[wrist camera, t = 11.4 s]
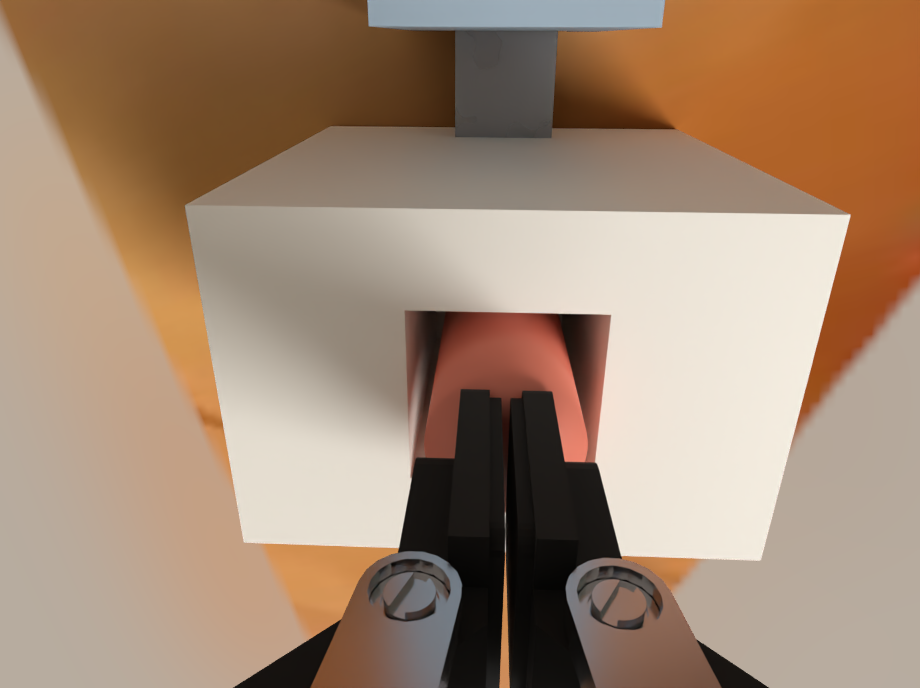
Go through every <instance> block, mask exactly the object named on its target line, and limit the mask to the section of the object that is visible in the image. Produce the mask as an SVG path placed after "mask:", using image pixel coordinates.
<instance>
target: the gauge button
mask: <svg viewBox="0 0 920 688" xmlns="http://www.w3.org/2000/svg"><path fill="white" fill-rule="evenodd" d="M461 389H481V390H490V397H493V398H501V400H502V434H503V468H504V502H505V512H506V492H507V468H508V444H509V420H510V399H511V398H521V397H522V391H552V393H553V398H554V403H555V409H556V415H557V420H558V426H559V432H560V437H561V443H562V448H563V454H564V460H565V462H585V460H586V455H587V450H588V439H587V431H586V427H585V423H584V419H583V415H582V411H581V406H580V402H579V398H578V394H577V390H576V386H575V381H574V377H573V373H572V369H571V365H570V360H569V356H568V352H567V348H566V344H565V340H564V335H563V331H562V327H561V323H560V319H559V315H558V314H555V313H507V312H458V311H446V313H445V319H444V325H443V330H442V336H441V342H440V348H439V354H438V360H437V366H436V372H435V377H434V383H433V389H432V395H431V401H430V407H429V413H428V418H427V424H426V430H425V436H424V450H425V456H426V458H455V448H456V437H457V425H458V414H459V403H460V392H461Z"/></svg>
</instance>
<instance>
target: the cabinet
mask: <svg viewBox="0 0 920 688" xmlns="http://www.w3.org/2000/svg"><path fill="white" fill-rule="evenodd" d="M185 210H186V216H187V221H188V227H189V233H190V238H191V244H192V250H193V255H194V261H195V267H196V273H197V278H198V284H199V290H200V295H201V301H202V307H203V312H204V318H205V324H206V329H207V335H208V341H209V347H210V352H211V358H212V364H213V369H214V375H215V381H216V386H217V392H218V398H219V403H220V409H221V415H222V421H223V426H224V432H225V438H226V443H227V449H228V455H229V460H230V466H231V472H232V477H233V483H234V489H235V495H236V500H237V506H238V511H239V517H240V523H241V529H242V534H243V540H244V543H270V544H299V545H327V546H356V547H385V548H399V545H400V539H401V534H402V528H403V523H404V518H405V512H406V507H407V501H408V496H409V490H410V485H411V479H412V474H413V469H414V463H415V459H416V458H417V457H424V458H426V456H425V450H424V436H425V430H426V424H427V418H428V413H429V407H430V401H431V395H432V389H433V383H434V377H435V372H436V366H437V360H438V354H439V348H440V342H441V336H442V330H443V325H444V319H445V313H446V311H458V312H507V313H555V314H558V315H559V319H560V323H561V327H562V331H563V335H564V340H565V344H566V348H567V352H568V356H569V360H570V365H571V369H572V373H573V377H574V381H575V386H576V390H577V394H578V398H579V402H580V406H581V411H582V415H583V419H584V423H585V427H586V431H587V439H588V450H587V455H586V460H585V462H595V463H597V465H598V468H599V471H600V475H601V479H602V483H603V487H604V491H605V495H606V499H607V503H608V507H609V510H610V514H611V518H612V522H613V526H614V530H615V534H616V538H617V542H618V546H619V550H620V554H621V556H644V557H673V558H702V559H731V560H759V561H760V560H761V557H762V554H763V549H764V546H765V542H766V538H767V534H768V530H769V527H770V523H771V519H772V515H773V511H774V508H775V504H776V500H777V496H778V492H779V488H780V485H781V481H782V477H783V473H784V469H785V465H786V461H787V458H788V454H789V450H790V446H791V442H792V438H793V435H794V431H795V427H796V423H797V419H798V415H799V412H800V408H801V404H802V400H803V396H804V392H805V388H806V385H807V381H808V377H809V373H810V369H811V365H812V362H813V358H814V354H815V350H816V346H817V342H818V339H819V335H820V331H821V327H822V323H823V319H824V315H825V312H826V308H827V304H828V300H829V296H830V292H831V289H832V285H833V281H834V277H835V273H836V269H837V266H838V262H839V258H840V254H841V250H842V246H843V242H844V239H845V235H846V231H847V227H848V223H849V219H850V216H851V215H850V214H848V213H846V212H844V211H842V210H840V209H838V208H836V207H834V206H832V205H830V204H828V203H826V202H824V201H821V200H819V199H817V198H815V197H813V196H811V195H809V194H807V193H805V192H803V191H801V190H799V189H797V188H795V187H793V186H791V185H789V184H787V183H785V182H783V181H781V180H779V179H777V178H775V177H773V176H771V175H769V174H767V173H765V172H763V171H761V170H759V169H756V168H754V167H752V166H750V165H748V164H746V163H744V162H742V161H740V160H738V159H736V158H734V157H732V156H730V155H728V154H726V153H724V152H722V151H720V150H718V149H716V148H714V147H712V146H710V145H708V144H706V143H704V142H702V141H700V140H698V139H696V138H693V137H691V136H689V135H687V134H685V133H683V132H681V131H679V130H677V129H581V128H552V137H551V138H488V137H455V127H372V126H330V127H328V128H326V129H324V130H323V131H321V132H319V133H317V134H315V135H313V136H311V137H310V138H308V139H306V140H304V141H302V142H300V143H299V144H297V145H295V146H293V147H291V148H289V149H287V150H286V151H284V152H282V153H280V154H278V155H276V156H275V157H273V158H271V159H269V160H267V161H265V162H264V163H262V164H260V165H258V166H256V167H254V168H252V169H251V170H249V171H247V172H245V173H243V174H241V175H240V176H238V177H236V178H234V179H232V180H230V181H228V182H227V183H225V184H223V185H221V186H219V187H217V188H216V189H214V190H212V191H210V192H208V193H206V194H205V195H203V196H201V197H199V198H197V199H195V200H193V201H192V202H190V203H188V204H186V205H185ZM505 517H506V512H505ZM505 552H506V540H505Z"/></svg>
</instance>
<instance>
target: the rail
mask: <svg viewBox="0 0 920 688" xmlns="http://www.w3.org/2000/svg"><path fill="white" fill-rule="evenodd" d="M557 38H558V31H455V137H488V138H551V137H552V120H553V104H554V87H555V71H556V54H557Z"/></svg>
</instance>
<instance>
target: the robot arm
mask: <svg viewBox="0 0 920 688" xmlns="http://www.w3.org/2000/svg"><path fill="white" fill-rule="evenodd" d="M505 540H506V575H507V609H508V643H509V678H510V688H768V687H767V686H765V685H764V684H762V683H761V682H760V681H758V680H757V679H755V678H753V677H752V676H751V675H749V674H748V673H746V672H744V671H743V670H742V669H740V668H739V667H737V666H736V665H734V664H733V663H731V662H730V661H728V660H727V659H725V658H723V657H722V656H720V655H719V654H717V653H716V652H714V651H713V650H711V649H710V648H708V647H707V646H705V645H704V644H702V643H701V642H699V641H698V640H696V638H695V636H694V634H693V633H692V631H691V629H690V627H689V625H688V623H687V621H686V619H685V617H684V616H683V614H682V612H681V610H680V608H679V606H678V604H677V602H676V600H675V598H674V596H673V595H672V593H671V591H670V590H669V588H668V587H667V586H666V584H665V583H664V582H663V580H662V579H661V578H659V577H658V576H657V575H656V574H654V573H653V572H652V571H651V570H649V569H647V568H645V567H643V566H641V565H639V564H637V563H635V562H631V561H627V560H623V559H622V558H621V554H620V550H619V546H618V542H617V538H616V534H615V530H614V526H613V522H612V518H611V514H610V510H609V507H608V503H607V499H606V495H605V491H604V487H603V483H602V479H601V475H600V471H599V468H598V465H597V463H595V462H565V460H564V454H563V448H562V443H561V437H560V432H559V426H558V420H557V415H556V409H555V403H554V398H553V393H552V391H522V397H521V398H511V399H510V420H509V444H508V468H507V492H506V517H505V502H504V468H503V434H502V400H501V398H493V397H490V390H481V389H461V392H460V403H459V414H458V425H457V437H456V448H455V458H424V457H417V458H416V459H415V463H414V469H413V474H412V479H411V485H410V490H409V496H408V501H407V507H406V512H405V518H404V523H403V528H402V534H401V539H400V545H399V550H398V553H395V554H391V555H389V556H387V557H384V558H382V559H380V560H378V561H376V562H375V563H374V564H373V565H371V566H370V567H369V568H368V569H366V571H365V572H364V574H363V575H362V577H361V578H360V580H359V581H358V584H357V586H356V588H355V590H354V592H353V595H352V597H351V599H350V601H349V604H348V606H347V608H346V610H345V612H344V615H343V617H342V619H341V620H339V621H338V622H336V623H335V624H333V625H332V626H330V627H328V628H327V629H325V630H324V631H322V632H321V633H319V634H317V635H316V636H314V637H313V638H311V639H309V640H308V641H306V642H305V643H303V644H302V645H300V646H298V647H297V648H295V649H294V650H292V651H291V652H289V653H287V654H286V655H284V656H283V657H281V658H279V659H278V660H276V661H275V662H273V663H272V664H270V665H269V666H267V667H265V668H264V669H262V670H261V671H259V672H257V673H256V674H254V675H253V676H251V677H250V678H248V679H246V680H245V681H243V682H242V683H240V684H238V685H237V686H235V687H234V688H499V683H500V659H501V635H502V612H503V588H504V564H505Z"/></svg>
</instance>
